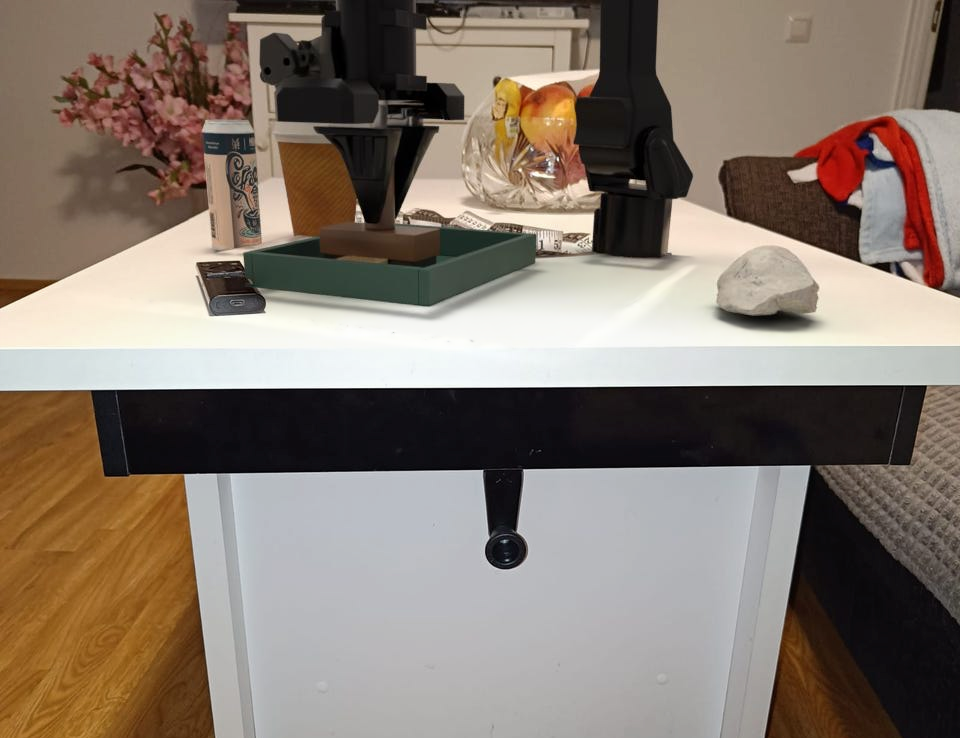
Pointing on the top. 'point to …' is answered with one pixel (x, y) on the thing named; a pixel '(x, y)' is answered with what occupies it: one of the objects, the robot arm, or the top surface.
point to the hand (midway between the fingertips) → (380, 221)
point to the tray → (394, 268)
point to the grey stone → (767, 284)
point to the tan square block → (364, 259)
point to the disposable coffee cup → (314, 178)
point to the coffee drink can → (232, 184)
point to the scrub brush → (382, 239)
